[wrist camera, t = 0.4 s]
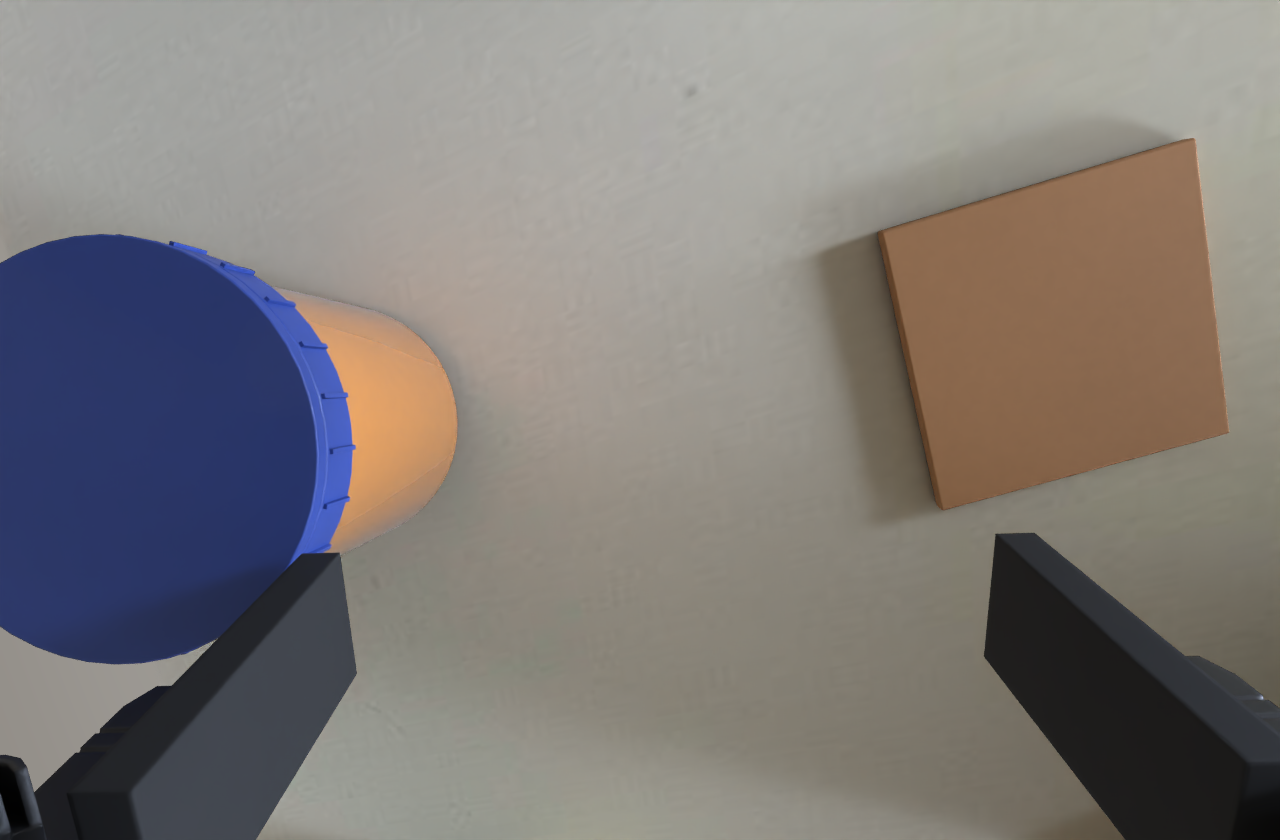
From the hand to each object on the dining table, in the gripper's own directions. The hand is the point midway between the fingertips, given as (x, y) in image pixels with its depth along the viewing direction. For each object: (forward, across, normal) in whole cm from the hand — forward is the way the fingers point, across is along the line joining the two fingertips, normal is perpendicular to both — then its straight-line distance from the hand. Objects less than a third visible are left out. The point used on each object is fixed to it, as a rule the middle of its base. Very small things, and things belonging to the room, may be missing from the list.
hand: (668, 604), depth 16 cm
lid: (+1, -11, +3) cm, 12 cm away
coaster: (+12, +14, +3) cm, 18 cm away
